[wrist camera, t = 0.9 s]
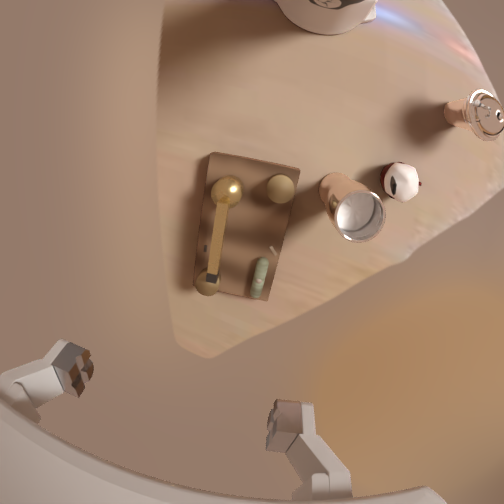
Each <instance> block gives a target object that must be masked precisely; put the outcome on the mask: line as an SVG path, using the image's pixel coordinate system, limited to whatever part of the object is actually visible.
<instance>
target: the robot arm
mask: <svg viewBox="0 0 504 504" xmlns="http://www.w3.org/2000/svg"><path fill="white" fill-rule="evenodd" d="M274 1H275V2H277V3H278V5H279V6H280V8H281V10H282V11H283V13H284V14H285V15H286V17H287V18H288V19H289V20H291V21H292V22H293V23H294V24H296V25H297V26H299V27H301V28H303V29H305V30H308V31H311V32H314V33H318V34H325V35H334V34H341V33H344V32H347V31H349V30H351V29H353V28H354V27H356V26H357V25H359V24H360V23H366V22H371V21H373V20H374V19H375V18H376V10H375V4H376V2H377V0H274ZM90 356H91V355H90V351H89V350H87V349H85V348H82V347H80V346H78V345H76V344H73V343H71V342H69V341H67V340H65V339H59V340H58V341H57V342H56V344H55V345H54V346H53V347H52V349H51V350H50V351H49V352H48V353H47V354H46V356H45V357H44V358H43V359H42V360H41V359H38V360H36V361H33V362H30V363H27V364H25V365H22V366H19V367H17V368H14V369H11V370H8V371H6V372H3V373H2V374H1V376H0V504H447V503H446V501H445V500H444V499H443V498H441V497H440V496H439V495H438V494H437V493H436V492H434V491H433V490H432V489H431V488H429V487H427V486H418V487H414V488H410V489H406V490H401V491H396V492H390V493H385V494H378V495H372V496H364V497H355V498H353V496H352V487H351V477H350V472H349V470H347V468H346V467H345V466H344V465H343V463H342V462H341V461H340V460H339V459H338V458H337V456H336V455H335V454H334V453H333V452H332V451H331V449H330V448H329V447H328V446H327V444H326V443H325V442H324V441H323V439H322V438H321V437H320V436H319V435H316V432H315V419H314V408H313V404H312V403H309V402H300V401H291V400H281V399H276V400H275V402H274V408H273V409H271V411H270V413H269V417H268V422H267V430H268V431H269V434H268V435H267V437H266V451H274V452H282V453H286V456H287V458H288V459H289V461H290V463H291V464H292V466H293V467H294V469H295V471H296V472H297V474H298V476H299V477H300V479H301V480H302V482H303V484H302V485H301V486H300V487H299V488H297V489H296V490H295V491H294V492H293V493H292V500H278V499H263V498H252V497H243V496H236V495H228V494H222V493H216V492H211V491H206V490H201V489H196V488H191V487H187V486H183V485H179V484H175V483H171V482H168V481H164V480H161V479H157V478H154V477H151V476H148V475H145V474H142V473H139V472H136V471H133V470H130V469H127V468H125V467H122V466H120V465H117V464H115V463H112V462H110V461H107V460H105V459H102V458H100V457H98V456H96V455H94V454H91V453H89V452H87V451H85V450H83V449H81V448H79V447H77V446H75V445H73V444H71V443H69V442H67V441H65V440H64V439H62V438H60V437H58V436H56V435H55V434H53V433H51V432H49V431H48V430H46V429H44V428H43V427H41V426H40V425H38V423H39V421H40V420H41V416H40V415H39V413H38V412H37V410H36V408H38V407H39V406H41V405H43V404H45V403H46V402H48V401H50V400H52V399H53V398H55V397H57V396H59V395H60V394H62V393H64V391H65V392H67V393H69V394H71V395H73V396H75V397H78V398H79V397H80V395H81V394H82V392H83V390H84V389H85V385H84V383H86V382H88V381H89V380H90V379H91V377H92V375H93V371H94V366H93V362H92V361H91V360H90V359H89V357H90Z"/></svg>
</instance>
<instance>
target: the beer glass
mask: <svg viewBox="0 0 504 504" xmlns="http://www.w3.org/2000/svg"><path fill="white" fill-rule="evenodd" d="M319 195H320V198H321V200H322V201H323V202H324V203H325V206H326V212H327V215H328V217H329V219H330V221H331V223H332V224H333V226H334V227H335V228H336V229H337V231H338V232H339V233H340V235H341V236H342V237H344V238H345V239H347V240H349V241H351V242H356V243H361V242H366V241H369V240H371V239H372V238H374V237H375V236H376V235H377V234H378V233H379V232H380V231H381V229H382V228H383V225H384V223H385V218H386V212H385V207H384V204H383V202H382V201H381V199H380V198H379V197H378V196H377V195H376V194H375V193H374V192H373V191H372V190H371V189H370V188H368V187H367V186H366V185H364V184H362V183H360V182H358V181H354V180H351V179H350V178H349V177H348V176H346V175H345V174H342V173H331V174H329V175H327V176H326V177H324V178H323V180H322V181H321V183H320V186H319Z"/></svg>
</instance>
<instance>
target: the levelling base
mask: <svg viewBox="0 0 504 504" xmlns="http://www.w3.org/2000/svg"><path fill="white" fill-rule="evenodd" d="M227 175H233V176H236V177H238V178H239V179H240V180H241V181H242V183H243V186H244V193H243V195H242V197H241V199H240V201H239V203H238V204H237V205H236V206H235V207H233V208H230V209H229V214H228V220H227V225H226V231H225V237H224V244H223V250H222V256H221V262H220V271H219V277H218V280H217V283H216V284H214V283H210V282H206V275H207V270H208V262H209V255H210V248H211V241H212V234H213V227H214V221H215V214H216V208H217V205H216V204H215V203H214V202H213V200H212V197H211V190H212V187H213V185H214V184H215V183H216V182H217V181H218V180H219V179H221V178H222V177H224V176H227ZM299 175H300V170H299V168H295V167H290V166H286V165H281V164H277V163H272V162H267V161H262V160H257V159H252V158H247V157H242V156H236V155H231V154H225V153H219V152H212V153H210V159H209V165H208V171H207V178H206V184H205V191H204V198H203V205H202V212H201V220H200V227H199V235H198V244H197V252H196V261H195V270H194V280H193V286H195V287H196V289H197V291H198V292H199V293H200V294H202V295H205V296H212V295H214V294H215V293H216V292H217V291H220V292H225V293H229V294H234V295H239V296H243V297H248V298H253V299H258V300H263V301H268V297H269V294H270V290H271V286H272V282H273V279H274V275H275V271H276V267H277V263H278V260H279V256H280V252H281V248H282V244H283V240H284V236H285V232H286V228H287V224H288V220H289V216H290V212H291V208H292V204H293V200H294V196H295V192H296V187H297V183H298V179H299Z"/></svg>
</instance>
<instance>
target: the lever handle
mask: <svg viewBox="0 0 504 504" xmlns="http://www.w3.org/2000/svg"><path fill="white" fill-rule="evenodd" d="M243 193H244V186H243V183H242V181H241V180H240V179H239V178H238V177H236V176H233V175H227V176H224V177H222V178H221V179H219V180H218V181H217V182H216V183H215V184H214V185H213V187H212V190H211V197H212V200H213V202H214V203H215V204H216V205H217V208H216V214H215V221H214V227H213V234H212V241H211V248H210V255H209V262H208V270H207V275H206V282H210V283H214V284H216V283H217V280H218V277H219V271H220V262H221V256H222V250H223V244H224V237H225V231H226V225H227V220H228V214H229V209H230V208H233V207H235V206H236V205H237V204H238V203H239V201H240V199H241V197H242V195H243Z"/></svg>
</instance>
